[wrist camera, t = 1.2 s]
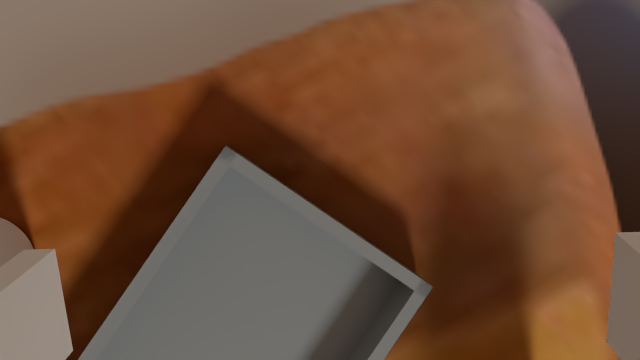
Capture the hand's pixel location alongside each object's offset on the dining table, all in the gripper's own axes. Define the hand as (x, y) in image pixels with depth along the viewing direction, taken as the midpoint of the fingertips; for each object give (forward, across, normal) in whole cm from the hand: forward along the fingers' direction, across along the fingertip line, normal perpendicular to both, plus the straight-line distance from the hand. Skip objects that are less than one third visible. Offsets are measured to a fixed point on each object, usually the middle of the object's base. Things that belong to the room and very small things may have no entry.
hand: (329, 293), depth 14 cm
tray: (+20, +8, +15) cm, 26 cm away
